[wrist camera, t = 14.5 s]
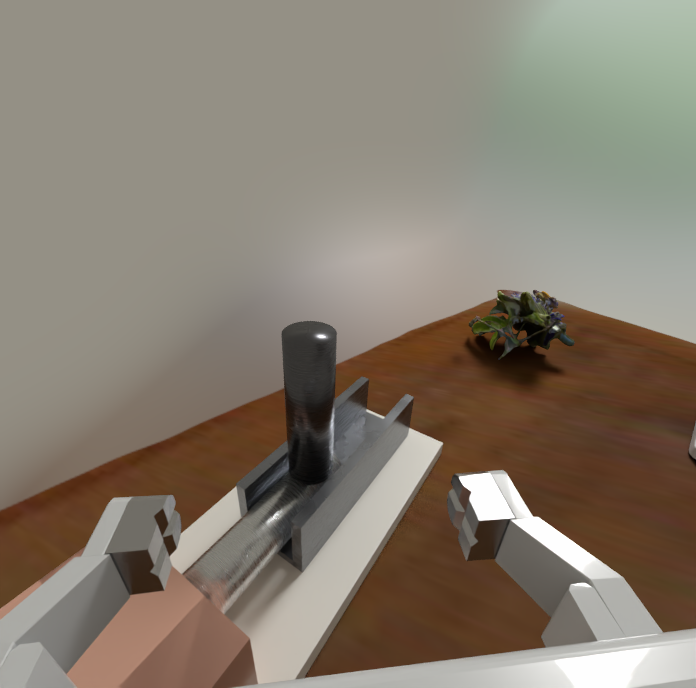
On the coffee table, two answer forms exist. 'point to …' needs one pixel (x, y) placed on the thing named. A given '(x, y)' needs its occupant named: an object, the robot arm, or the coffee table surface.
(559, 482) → the coffee table surface
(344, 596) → the base board
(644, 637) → the robot arm
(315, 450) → the slide bolt
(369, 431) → the grey guide channel
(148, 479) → the coffee table surface
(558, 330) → the passion flower
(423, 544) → the coffee table surface
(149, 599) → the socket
